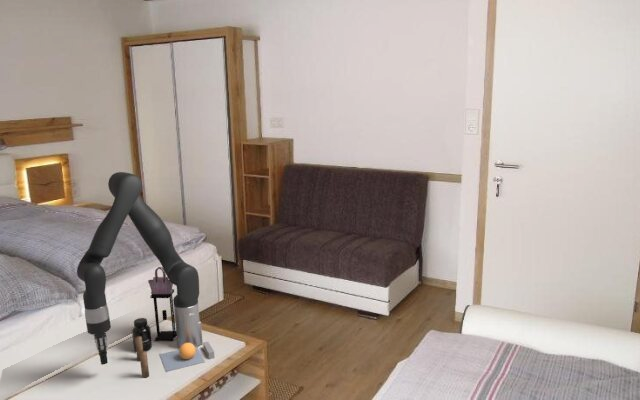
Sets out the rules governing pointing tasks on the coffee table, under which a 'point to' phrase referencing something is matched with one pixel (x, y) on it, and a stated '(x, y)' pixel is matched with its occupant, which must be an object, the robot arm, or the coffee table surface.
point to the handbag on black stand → (162, 289)
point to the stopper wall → (208, 350)
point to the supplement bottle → (142, 333)
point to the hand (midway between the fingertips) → (104, 363)
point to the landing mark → (179, 360)
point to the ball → (187, 351)
